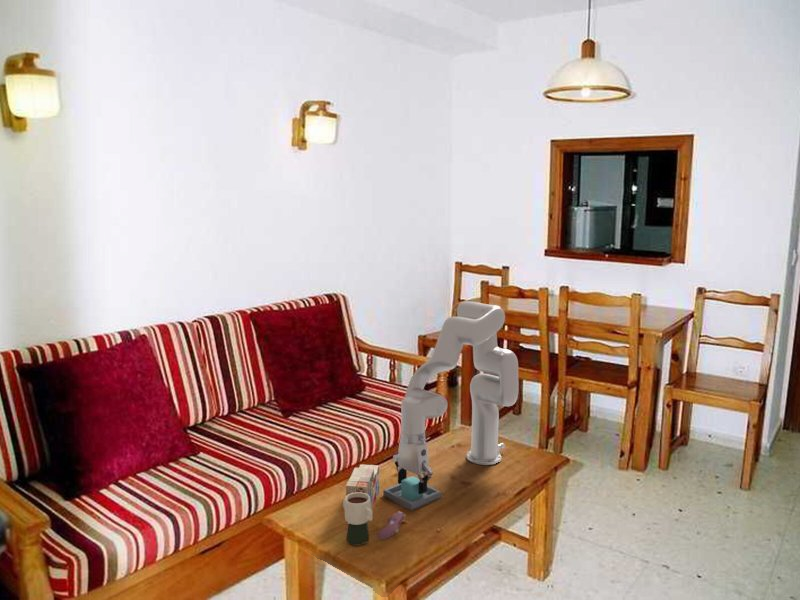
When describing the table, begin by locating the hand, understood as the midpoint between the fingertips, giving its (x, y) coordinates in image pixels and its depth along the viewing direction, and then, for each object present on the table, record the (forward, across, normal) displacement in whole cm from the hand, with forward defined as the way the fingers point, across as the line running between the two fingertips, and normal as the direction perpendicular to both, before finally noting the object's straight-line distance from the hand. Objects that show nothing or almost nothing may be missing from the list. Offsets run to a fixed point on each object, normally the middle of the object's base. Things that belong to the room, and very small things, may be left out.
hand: (412, 487), depth 208 cm
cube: (+3, 0, 0) cm, 3 cm away
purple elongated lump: (+3, -12, +19) cm, 23 cm away
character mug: (+3, -9, +30) cm, 31 cm away
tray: (+3, 0, 0) cm, 3 cm away
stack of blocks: (+3, +5, +16) cm, 17 cm away
